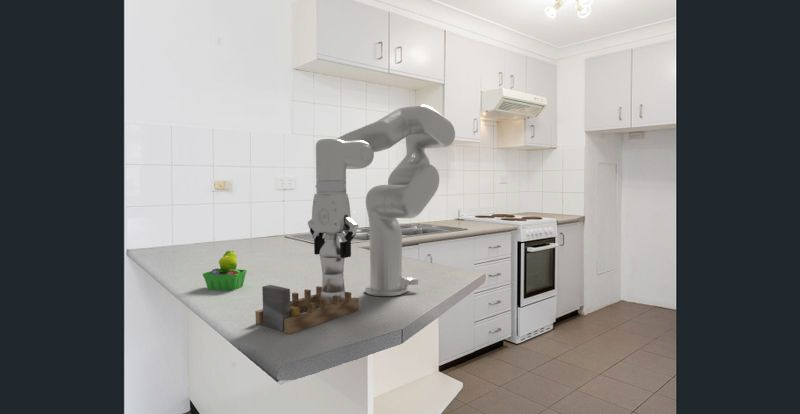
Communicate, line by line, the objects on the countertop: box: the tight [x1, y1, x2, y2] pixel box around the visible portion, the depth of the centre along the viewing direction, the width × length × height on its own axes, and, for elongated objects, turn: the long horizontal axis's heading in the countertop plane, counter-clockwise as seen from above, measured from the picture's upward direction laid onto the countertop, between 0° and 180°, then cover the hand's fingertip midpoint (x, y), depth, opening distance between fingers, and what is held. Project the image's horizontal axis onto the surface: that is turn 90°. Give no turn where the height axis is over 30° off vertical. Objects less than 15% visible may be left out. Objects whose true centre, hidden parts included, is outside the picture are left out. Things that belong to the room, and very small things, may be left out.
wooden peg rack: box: [255, 284, 360, 335], centre depth 106 cm, size 22×12×9 cm, turn 143°
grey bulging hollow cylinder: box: [318, 233, 346, 305], centre depth 112 cm, size 6×7×20 cm
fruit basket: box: [202, 250, 248, 291], centre depth 137 cm, size 11×9×11 cm
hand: (332, 255), depth 112 cm, fingers open, 9 cm apart
